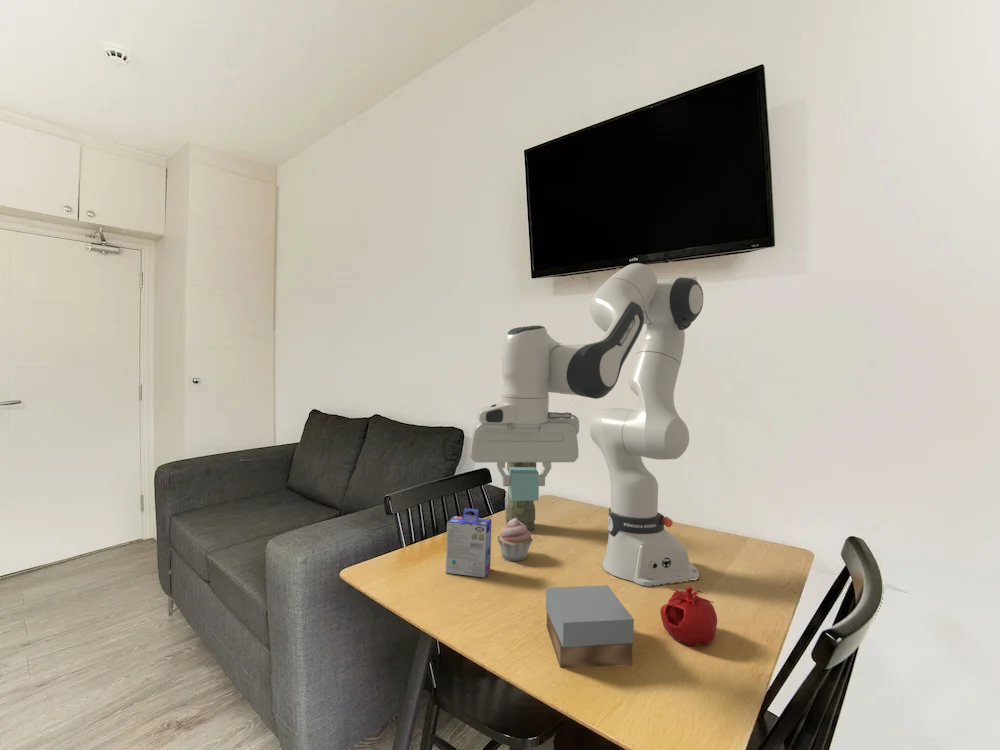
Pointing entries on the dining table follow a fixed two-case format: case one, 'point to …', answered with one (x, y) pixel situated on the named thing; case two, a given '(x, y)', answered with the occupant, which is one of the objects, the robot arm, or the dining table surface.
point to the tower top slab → (588, 616)
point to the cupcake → (514, 540)
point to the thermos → (521, 503)
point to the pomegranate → (689, 618)
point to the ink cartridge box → (468, 545)
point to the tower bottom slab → (589, 652)
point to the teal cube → (524, 484)
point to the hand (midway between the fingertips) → (523, 485)
